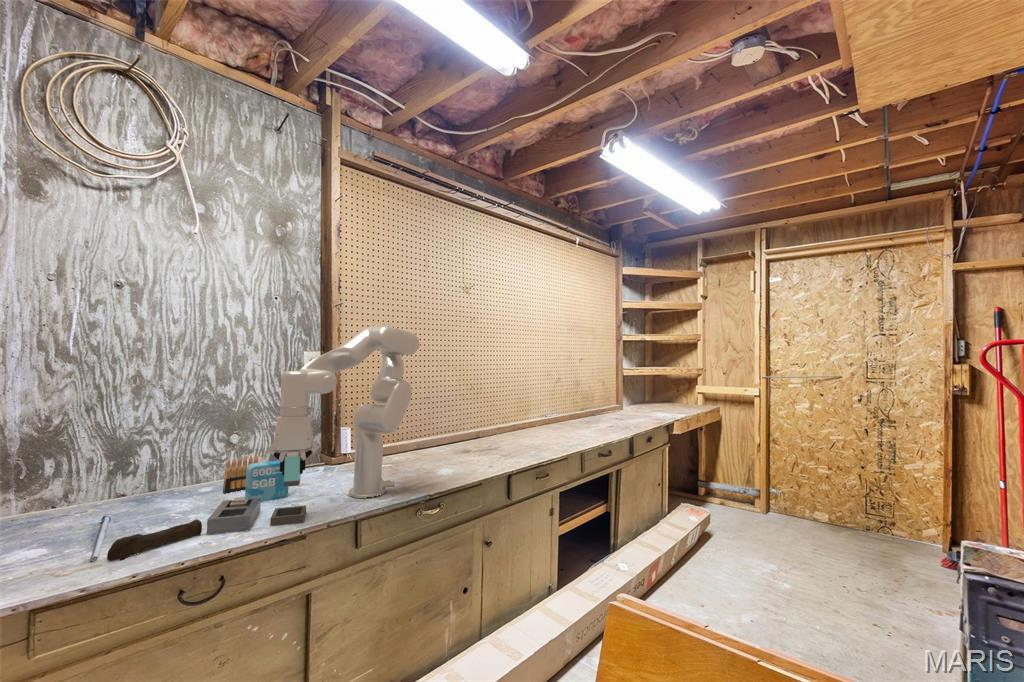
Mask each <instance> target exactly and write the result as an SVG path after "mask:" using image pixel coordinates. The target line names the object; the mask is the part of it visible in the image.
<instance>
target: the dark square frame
mask: <svg viewBox="0 0 1024 682" xmlns="http://www.w3.org/2000/svg"><path fill="white" fill-rule="evenodd" d="M306 514H307V505H299V506H286V507H275V508H274V510H273V511H272V514H271V517H270V522H269V523H270V527H273V526H282V525H283V526H284V524H285V525H293V524H294V523H295V524H303V523H304V522H305V518H306Z"/></svg>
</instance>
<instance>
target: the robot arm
mask: <svg viewBox="0 0 1024 682" xmlns="http://www.w3.org/2000/svg"><path fill="white" fill-rule="evenodd" d="M419 348H420V338H419V337H418V336H417V335H416V333H414V332H411V331H408V330H403V329H401V328H397V327H392V326H389V325H370V326H367V327H365V328H363V329H361V330H360V331H359V332H357V333H356V334H355V335H354V336H353V337H351V338H350V339H349V340H347V341H346V342H344V343H343V344H341V346H338V347H336V348H334V349H332V350H329V351H327V352H325V353H324V354H320V355H319V356H317V357H315V358H313V359H312V360H311V361H309V362H308V363H306V364H305V365H304V366H302V367H301V368H299V369H298V370H287V371H284V372H282V374H281V380H280V381H281V382H280V383H281V386H280V388H281V389H280V414H279V416H277V420H276V422H275V423H276V425H275V429H274V437H273V438H274V439H273V441H272V443H271V444H270V446H269V447H268V448H267V450H266V453H268V454H269V455H272V456H273V457H274V458H276V459H277V460H279V461H280V472H282V475H284V469H285V456H286V455H287V451H297V450H299V453H300V454H301V460H300V474H301V475H302V474H303V473H304V471H306V460H307V459H308V458H309V457H310V455H312V454H313V453H315V452H317V451H318V450H319V449H320V446H319V445H318V444H317V442H316V441H315V440H314V436H313V435H314V434H313V433H314V431H313V420H312V415H309V414H310V413H314V409H315V408H314V407H311V406H309V405H310V401H309V399H310V394H320V395H324V394H328V393H331V392H332V391H334V389H335V388H336V386H337V385H338V378H337V377H336V374H335V373H336V372H341V371H344V370H348V369H352V368H355V367H356V366H359V365H360V364H361V363H362V362H363V361H365V360H366V359H367V358H368V357H369V356H370V355H372V354H373V353H374V352H375V351H377V350H379V351H380V354H381V357H382V365H381V367H380V370H379V373H378V374H377V376H376V379H374V382H373V385H372V386H371V388H370V393H369V396H370V399H371V401H373V402H375V403H365V404H362V405H360V406H359V407H357V408H356V409H355V411H354V413H353V417H352V418H353V421H352V422H353V428H354V436H355V437H354V439H355V443H354V444H355V447H354V464H353V465H354V466H353V468H354V469H353V486H352V488H350V489H348V496H349V497H350V498H354V499H355V498H356V499H368V498H367V497H372V498H375V497H374V496H377V495H380V494H382V495H384V494H385V493H386V488H387V487H389V488H393V487H394V488H395V486H396V482H395V481H394V480H391V479H389V480H385V479H383V477H382V474H383V454H384V440H383V436H382V434H392V433H395V431H396V430H398V428H399V426H400V424H401V422H402V421H403V418H404V417H405V415H406V414H405V413H406V412H407V409H408V407H409V405H410V402H411V400H412V394H413V389H412V385H411V384H410V382H409V381H408V380H406V379H403V375H404V373H405V365H404V361H403V359H402V356H410V355H411V356H412V355H414V354H416V352H417V351H418V350H419ZM376 403H377V404H376ZM378 403H379V404H378ZM382 404H384V405H382ZM384 492H385V493H384ZM383 493H384V494H383ZM380 496H381V495H380ZM377 497H378V496H377Z"/></svg>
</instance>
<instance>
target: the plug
mask: <svg viewBox="0 0 1024 682" xmlns="http://www.w3.org/2000/svg"><path fill="white" fill-rule="evenodd" d="M300 460H301V453H300V450H297V451H286V454H285V469H284V487H288V488H289V487H297V486H298V487H299V486H300V484H301V480H302V479H301V477H302V476H301V475H302V474H300Z"/></svg>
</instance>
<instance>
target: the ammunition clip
mask: <svg viewBox="0 0 1024 682" xmlns="http://www.w3.org/2000/svg"><path fill="white" fill-rule="evenodd" d="M254 463H259V457H258V454H257V453H256V454H255V456H254V458H253V455H249V458H248V459H247V455H244V458H243V462H242V457H241V456H239V457H238V459H237V460H236V458H235V457H233V458H232V461H231V459H230V458H229V457H228V458H227V460H226V465H225V470H224V480H223V487H222V493H223V494H225V495H226V493H227V494H231V492H232V493H236V491H237V492H242V491H241V490H243V491H245V487H246V470H247V467H248V466H249V465H250V464H254Z"/></svg>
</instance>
